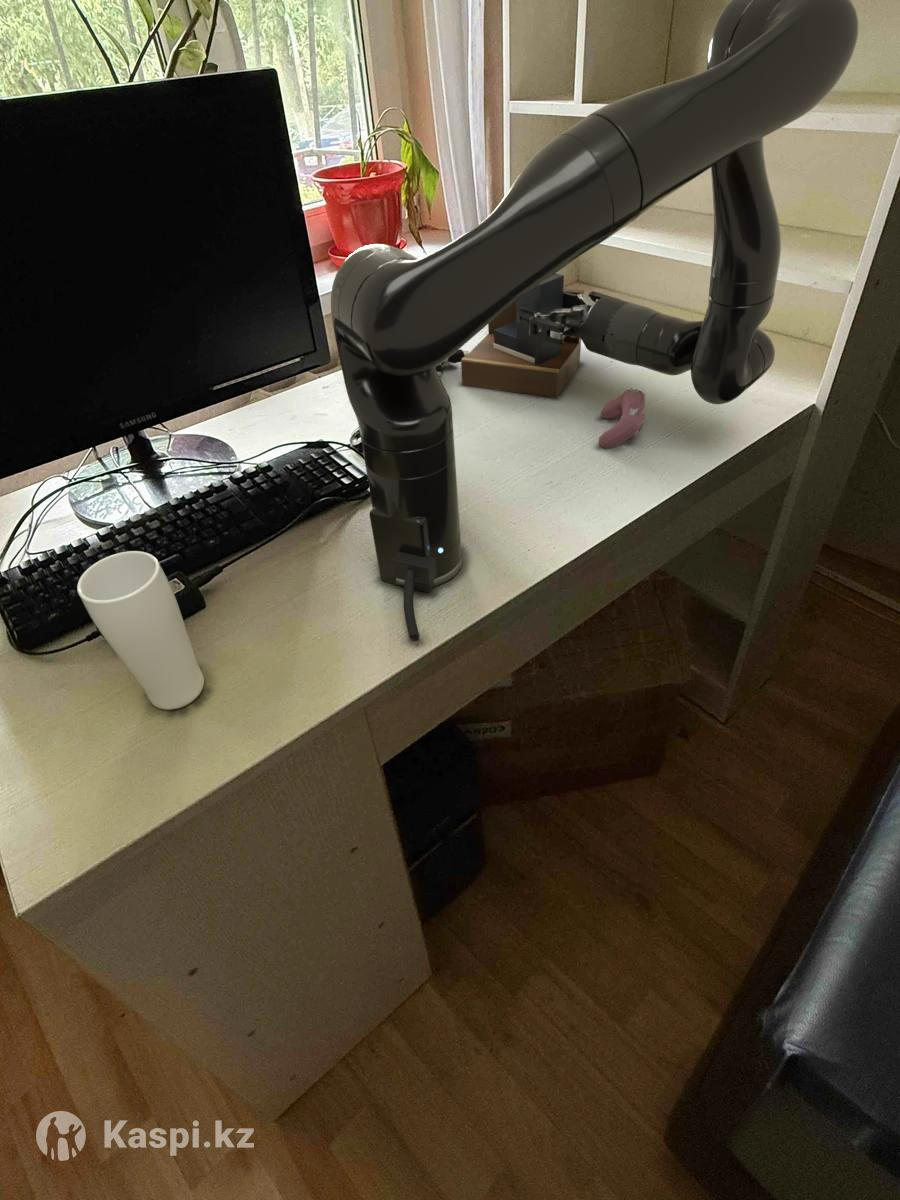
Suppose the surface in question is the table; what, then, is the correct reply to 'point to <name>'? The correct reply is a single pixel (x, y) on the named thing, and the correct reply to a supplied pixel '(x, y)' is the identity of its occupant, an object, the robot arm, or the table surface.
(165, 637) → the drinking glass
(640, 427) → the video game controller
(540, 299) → the dark l-shaped block
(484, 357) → the wooden l-shaped stand
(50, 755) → the table surface
